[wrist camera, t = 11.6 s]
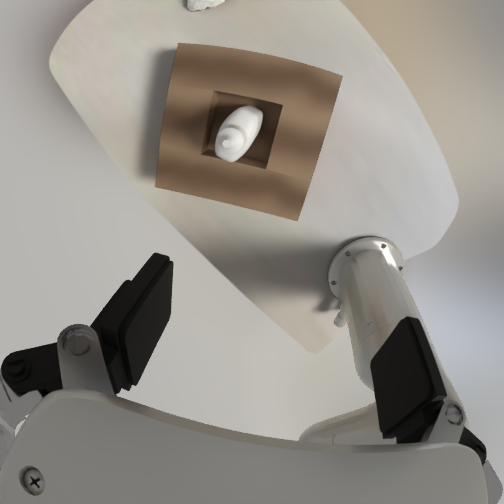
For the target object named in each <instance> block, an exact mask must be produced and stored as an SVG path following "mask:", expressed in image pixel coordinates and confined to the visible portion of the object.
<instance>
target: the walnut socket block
mask: <svg viewBox="0 0 504 504" xmlns="http://www.w3.org/2000/svg"><path fill="white" fill-rule="evenodd" d="M342 77H343V76H341V75H339V74H336V73H333V72H330V71H327V70H324V69H320V68H317V67H314V66H310V65H307V64H303V63H300V62H296V61H292V60H288V59H284V58H280V57H276V56H271V55H266V54H262V53H257V52H251V51H245V50H239V49H233V48H226V47H218V46H210V45H199V44H186V43H178V46H177V50H176V55H175V59H174V64H173V68H172V73H171V78H170V83H169V88H168V94H167V99H166V105H165V111H164V117H163V124H162V131H161V138H160V146H159V154H158V163H157V173H156V183H155V187H157V188H162V189H166V190H171V191H176V192H180V193H185V194H189V195H194V196H198V197H203V198H207V199H211V200H215V201H220V202H224V203H228V204H232V205H236V206H240V207H244V208H248V209H252V210H256V211H260V212H264V213H268V214H272V215H276V216H280V217H284V218H287V219H291V220H295V221H298V218H299V215H300V212H301V209H302V206H303V203H304V200H305V197H306V194H307V191H308V188H309V185H310V182H311V179H312V176H313V173H314V170H315V167H316V164H317V160H318V157H319V154H320V151H321V148H322V144H323V141H324V138H325V135H326V131H327V128H328V125H329V122H330V118H331V115H332V112H333V108H334V105H335V101H336V98H337V94H338V91H339V88H340V84H341V80H342ZM247 105H251V106H253V107H255V108H257V109H259V110H261V111H262V112H263V122H262V126H261V128H260V131H259V133H258V135H257V136H256V138H255V139H254V141H253V143H252V144H251V146H250V147H249V149H248V150H247V151H246V152H245V153H244V154H243V155H242V156H241V157H240V158H239V159H237V160H236V161H234V162H228V161H226V160H224V159H222V158H220V157H218V156H217V155H216V153H215V142H216V137H217V134H218V131H219V129H220V127H221V125H222V124H223V122H224V121H225V120H226V119H227V117H228V116H229V115H230V114H231V113H233V112H234V111H235V110H237V109H238V108H240V107H243V106H247Z"/></svg>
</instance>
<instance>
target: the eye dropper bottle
mask: <svg viewBox="0 0 504 504" xmlns="http://www.w3.org/2000/svg"><path fill="white" fill-rule="evenodd" d="M262 122H263V112H262V111H261V110H259V109H257V108H255V107H253V106H251V105H247V106H243V107H240V108H238V109H237V110H235V111H234V112H233V113H231V114H230V115H229V116H228V117H227V119H226V120H225V121H224V122H223V124H222V125H221V127H220V129H219V131H218V134H217V137H216V142H215V153H216V155H217V156H218V157H220V158H222V159H224V160H226V161H228V162H234V161H236V160H237V159H239V158H240V157H241V156H242V155H243V154H244V153H245V152H246V151H247V150H248V149H249V147H250V146H251V144H252V143H253V141H254V139H255V138H256V136H257V135H258V133H259V131H260V128H261V126H262Z"/></svg>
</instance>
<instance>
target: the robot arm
mask: <svg viewBox="0 0 504 504" xmlns="http://www.w3.org/2000/svg"><path fill="white" fill-rule="evenodd" d="M404 267H405V265H404V259H403V256H402V254H401V252H400V251H399V249H398V248H397V247H396V246H395V245H394V244H393V243H392V242H390V241H388V240H386V239H383V238H378V237H366V238H362V239H358V240H356V241H353V242H351V243H349V244H348V245H346V246H345V247H344V248H342V249H341V250H340V251H339V252H338V253H337V254H336V256H335V257H334V258H333V260H332V262H331V264H330V267H329V271H328V281H329V285H330V289H331V291H332V293H333V294H334V295H335V296H336V297H337V298H338V299H339V300H341V303H342V304H341V306H340V309H341V310H340V312H339V313H338V315H337V316H336V318H335V320H334V324H335V325H336V326H337V327H343V326H344V324H345V323H346V321H347V323H348V328H349V333H350V338H351V343H352V349H353V355H354V361H355V367H356V371H357V373H358V376H359V377H360V379H361V380H362V382H363V383H364V384H365V385H366V386H367V387H369V388H370V389H371V390H373V391H374V392H375V399H376V402H374V403H372V404H369V405H368V406H366V407H363V408H360V409H357V410H354V411H351V412H348V413H345V414H343V415H339V416H336V417H333V418H330V419H327V420H324V421H321V422H318V423H316V424H314V425H312V426H310V427H309V428H307V429H306V430H305V431H304V432H303V433H302V435H301V436H300V438H299V440H298V441H293V440H285V439H278V438H271V437H264V436H259V435H253V434H248V433H242V432H238V431H233V430H229V429H224V428H220V427H216V426H212V425H208V424H204V423H200V422H197V421H193V420H190V419H186V418H182V417H179V416H176V415H172V414H169V413H166V412H163V411H160V410H157V409H154V408H151V407H148V406H145V405H142V404H139V403H135V402H133V401H130V400H127V399H124V398H121V397H117V395H116V394H117V393H119V392H120V390H121V388H123V389H125V390H127V391H129V390H130V388H131V386H132V385H135V386H136V385H137V384H138V382H139V380H140V378H141V376H142V373H143V371H144V369H145V367H146V365H147V363H148V361H149V359H150V357H151V355H152V353H153V351H154V349H155V347H156V345H157V343H158V341H159V339H160V337H161V335H162V333H163V331H164V329H165V327H166V325H167V323H168V321H169V319H170V315H171V298H172V279H173V262H172V261H170V259H169V257H168V256H166V255H162V254H159V253H154V254H153V255H152V256H151V257H150V258H149V260H148V261H147V262H146V263H145V264H144V266H143V267H142V268H141V270H140V271H139V272H138V273H137V275H136V276H135V277H134V278H133V280H132V281H130V280H126V281H125V282H124V283H123V284H122V285H121V286H120V288H119V289H118V290H117V291H116V293H115V294H114V295H113V296H112V298H111V299H110V300H109V302H108V303H107V304H106V306H105V307H104V308H103V310H102V311H101V312H100V314H99V315H98V317H97V318H96V319H95V320H94V322H93V323H92V324H91V326H90V327H89V326H87V325H84V324H74V325H71V326H68V327H67V328H65V329H64V330H63V331H62V332H61V333H60V334H59V337H58V340H57V342H56V343H52V344H47V345H43V346H39V347H34V348H30V349H25V350H21V351H16V352H13V353H11V354H9V355H8V356H7V357H6V358H5V359H4V361H3V363H2V366H1V369H0V504H497V503H498V501H499V499H500V498H501V496H502V491H503V489H502V484H501V482H500V480H499V478H498V477H497V475H496V473H495V471H494V470H493V468H492V466H491V465H490V463H489V461H488V460H487V461H485V460H486V448H485V445H484V444H483V443H482V442H481V441H480V440H479V439H478V438H477V437H476V436H475V435H474V434H473V433H471V432H470V431H469V430H468V420H467V415H466V412H465V409H464V407H463V404H462V402H461V400H460V398H459V396H458V395H457V393H456V391H455V389H454V387H453V385H452V383H451V382H450V380H449V378H448V376H447V374H446V372H445V370H444V368H443V366H442V364H441V362H440V359H439V357H438V354H437V352H436V350H435V347H434V345H433V343H432V340H431V338H430V336H429V333H428V331H427V328H426V326H425V324H424V321H423V319H422V317H421V315H420V312H419V310H418V308H417V306H416V304H415V302H414V299H413V297H412V295H411V293H410V291H409V289H408V287H407V285H406V283H405V281H404V279H403V274H404ZM29 413H30V414H29ZM28 414H29V415H28ZM26 415H28V417H27V418H26V417H25V416H26ZM24 419H26V420H25V422H24V423H23V425H22V426H21V428H20V430H19V432H18V433H17V435H16V437H15V429H16V426H17V425H18V424H19V423H20V422H21V421H23V420H24Z"/></svg>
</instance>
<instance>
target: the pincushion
mask: <svg viewBox="0 0 504 504" xmlns="http://www.w3.org/2000/svg"><path fill="white" fill-rule="evenodd" d="M224 1H225V0H188V1H187V7H188V9H189V10H190V11H193V10H194V11H196V10H197V9H198V10H204V9H206V7H215V6H217V5H218V4H221V3H223V2H224Z"/></svg>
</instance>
